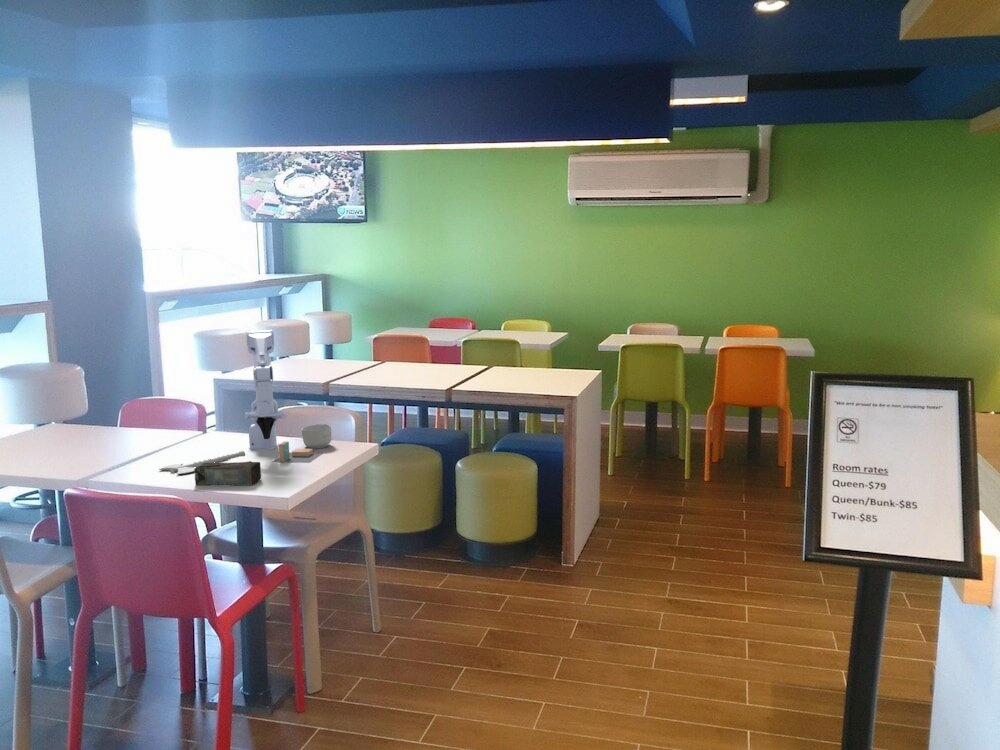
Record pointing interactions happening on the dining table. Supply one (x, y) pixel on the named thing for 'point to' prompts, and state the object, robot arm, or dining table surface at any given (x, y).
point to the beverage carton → (227, 473)
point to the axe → (198, 463)
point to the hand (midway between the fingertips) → (267, 438)
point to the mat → (300, 458)
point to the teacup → (317, 435)
